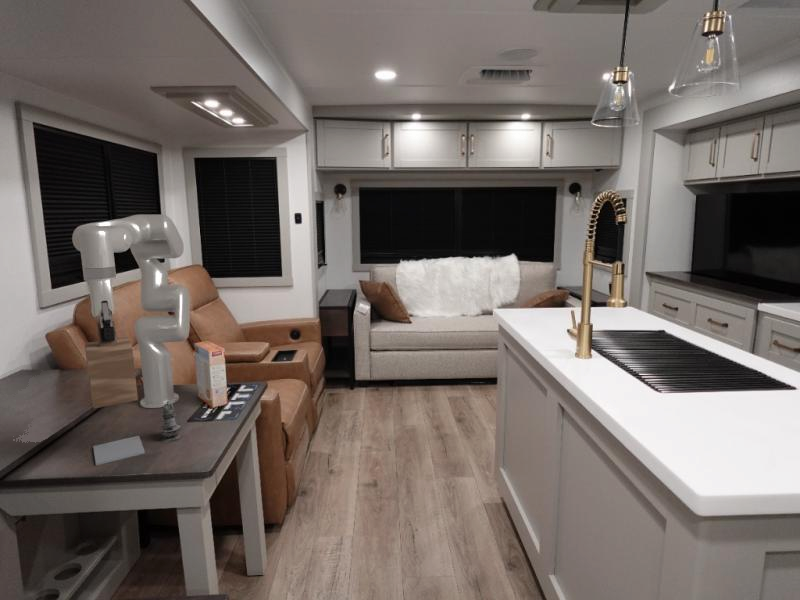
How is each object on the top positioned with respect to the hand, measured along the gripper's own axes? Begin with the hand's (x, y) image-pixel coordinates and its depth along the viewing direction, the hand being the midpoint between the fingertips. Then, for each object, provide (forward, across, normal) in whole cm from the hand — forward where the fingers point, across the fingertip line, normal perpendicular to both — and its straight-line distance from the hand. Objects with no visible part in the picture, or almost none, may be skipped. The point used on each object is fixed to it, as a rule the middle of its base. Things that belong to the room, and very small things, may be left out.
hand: (107, 338), depth 138 cm
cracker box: (+33, -23, +32) cm, 51 cm away
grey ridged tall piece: (+33, 0, +14) cm, 36 cm away
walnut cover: (+17, 0, 0) cm, 17 cm away
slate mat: (+33, 0, 0) cm, 33 cm away
